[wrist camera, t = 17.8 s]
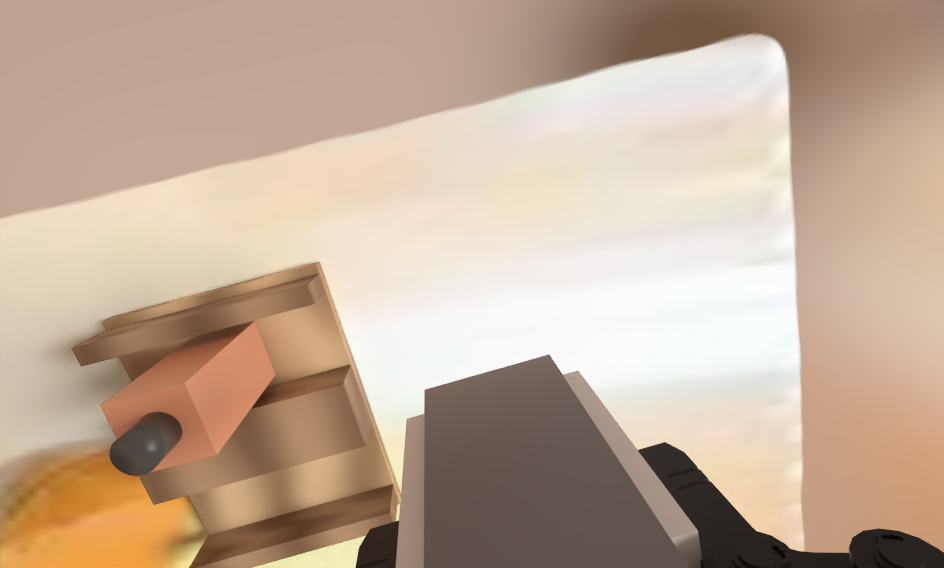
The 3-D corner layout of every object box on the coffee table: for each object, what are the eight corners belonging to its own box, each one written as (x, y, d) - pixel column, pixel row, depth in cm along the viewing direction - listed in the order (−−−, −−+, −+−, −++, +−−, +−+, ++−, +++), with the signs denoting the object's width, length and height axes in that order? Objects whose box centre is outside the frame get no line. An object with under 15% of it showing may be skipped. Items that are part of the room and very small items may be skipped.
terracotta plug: (217, 389, 31) (108, 504, 21) (194, 336, 30) (67, 428, 20) (275, 374, 31) (197, 481, 21) (254, 321, 30) (160, 404, 20)
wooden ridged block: (223, 543, 35) (198, 590, 31) (112, 316, 30) (66, 338, 27) (400, 494, 36) (397, 534, 32) (319, 261, 31) (303, 275, 27)
